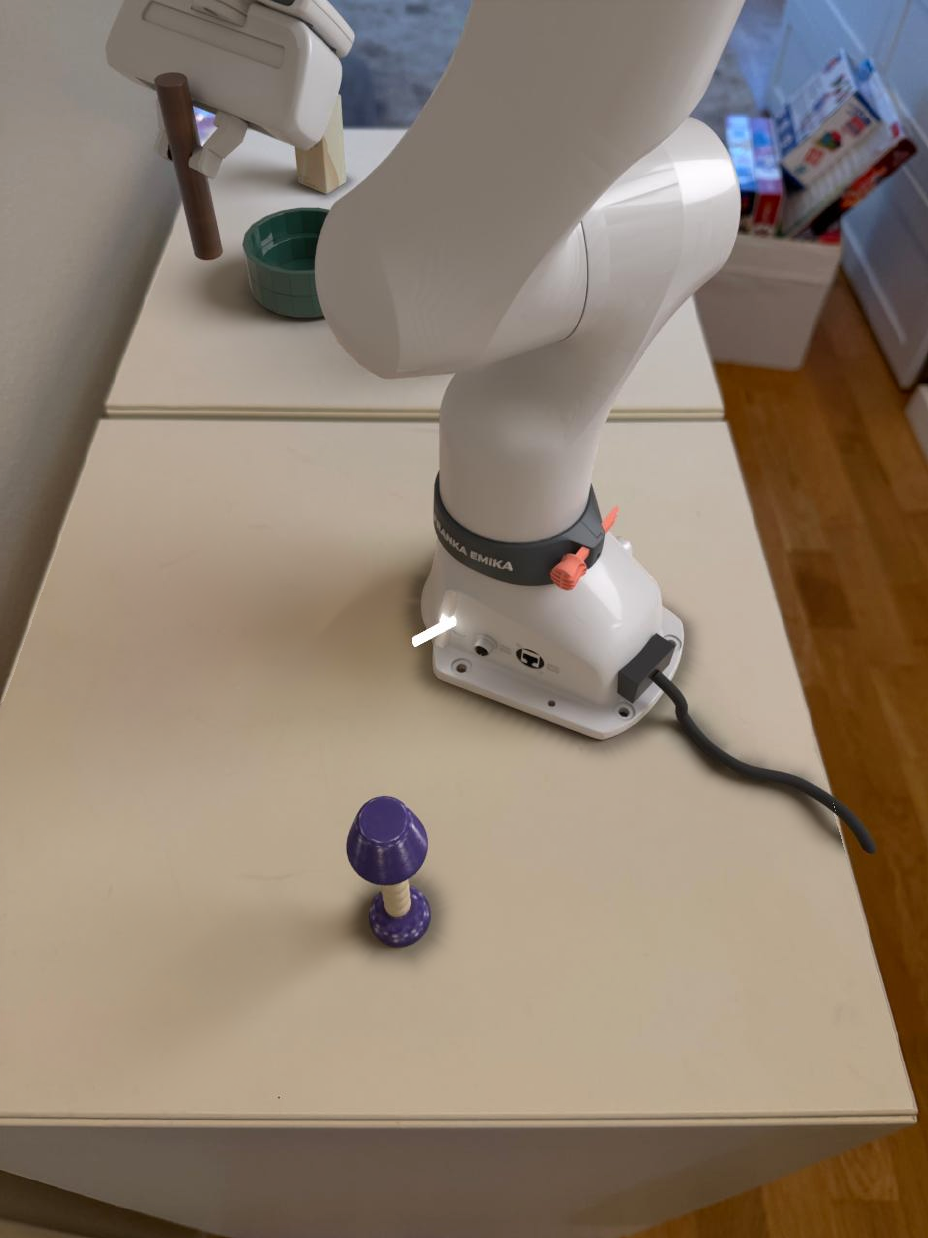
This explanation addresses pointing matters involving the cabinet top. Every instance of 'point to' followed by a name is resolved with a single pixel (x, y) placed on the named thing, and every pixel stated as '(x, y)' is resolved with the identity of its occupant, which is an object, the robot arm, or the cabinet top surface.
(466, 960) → the cabinet top surface
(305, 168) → the box
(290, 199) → the cabinet top surface
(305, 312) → the bowl
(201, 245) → the stirring stick
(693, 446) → the cabinet top surface
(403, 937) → the toy lamp
